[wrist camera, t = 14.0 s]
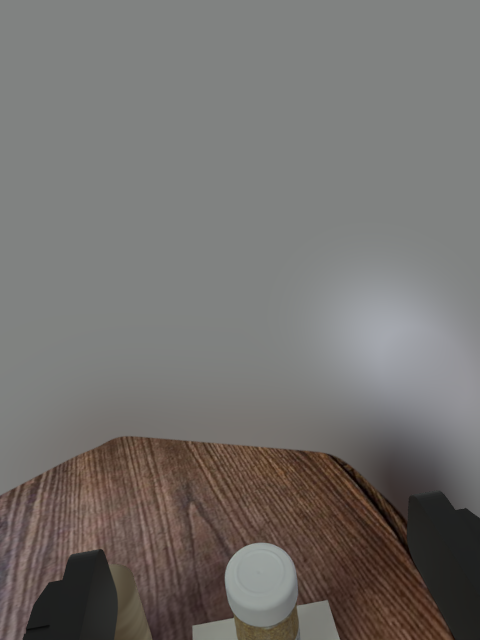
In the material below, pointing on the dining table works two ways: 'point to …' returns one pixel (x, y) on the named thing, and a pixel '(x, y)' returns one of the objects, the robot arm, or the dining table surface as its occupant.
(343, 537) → the dining table surface
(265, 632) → the sprinkles bottle
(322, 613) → the ceramic tile
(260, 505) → the dining table surface
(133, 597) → the beech dowel
